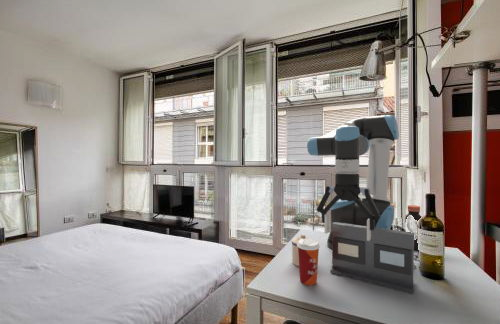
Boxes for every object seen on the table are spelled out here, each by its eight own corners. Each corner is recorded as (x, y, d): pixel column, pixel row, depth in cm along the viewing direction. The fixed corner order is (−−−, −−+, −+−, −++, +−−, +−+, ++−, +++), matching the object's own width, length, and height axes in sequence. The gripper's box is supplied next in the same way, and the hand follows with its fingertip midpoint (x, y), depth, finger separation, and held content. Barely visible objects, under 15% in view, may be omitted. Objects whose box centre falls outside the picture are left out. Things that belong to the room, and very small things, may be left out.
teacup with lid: (310, 269, 97) (310, 239, 97) (288, 264, 102) (288, 236, 102) (319, 259, 107) (319, 231, 107) (298, 254, 112) (298, 228, 112)
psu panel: (336, 265, 101) (336, 220, 101) (413, 283, 86) (414, 231, 86) (330, 272, 94) (330, 225, 94) (412, 293, 80) (413, 237, 79)
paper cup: (315, 289, 83) (315, 248, 82) (293, 283, 87) (293, 243, 86) (322, 278, 89) (322, 240, 88) (301, 273, 93) (301, 236, 93)
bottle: (425, 250, 117) (426, 207, 116) (413, 251, 115) (414, 207, 115) (413, 245, 123) (413, 204, 123) (401, 246, 122) (401, 205, 121)
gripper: (307, 172, 89) (307, 232, 89) (387, 174, 74) (387, 246, 75) (315, 171, 95) (315, 227, 95) (390, 173, 80) (390, 239, 81)
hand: (346, 236), depth 85 cm, fingers open, 13 cm apart
